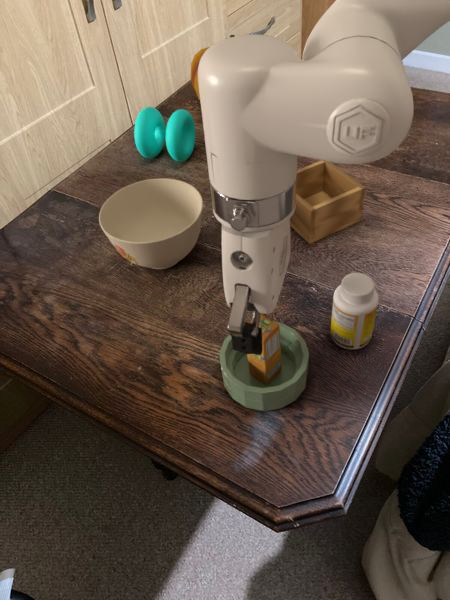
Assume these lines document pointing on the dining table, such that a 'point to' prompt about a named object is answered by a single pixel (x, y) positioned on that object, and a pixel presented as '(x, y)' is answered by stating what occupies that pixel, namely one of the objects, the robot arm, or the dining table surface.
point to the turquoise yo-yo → (165, 133)
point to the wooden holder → (325, 201)
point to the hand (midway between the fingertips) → (258, 317)
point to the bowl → (153, 221)
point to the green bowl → (281, 387)
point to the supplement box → (267, 353)
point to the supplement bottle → (354, 311)
